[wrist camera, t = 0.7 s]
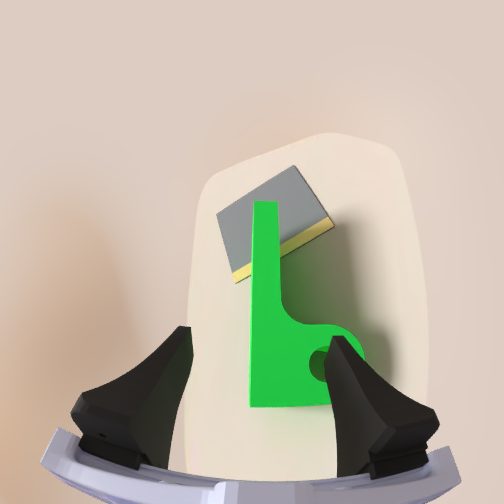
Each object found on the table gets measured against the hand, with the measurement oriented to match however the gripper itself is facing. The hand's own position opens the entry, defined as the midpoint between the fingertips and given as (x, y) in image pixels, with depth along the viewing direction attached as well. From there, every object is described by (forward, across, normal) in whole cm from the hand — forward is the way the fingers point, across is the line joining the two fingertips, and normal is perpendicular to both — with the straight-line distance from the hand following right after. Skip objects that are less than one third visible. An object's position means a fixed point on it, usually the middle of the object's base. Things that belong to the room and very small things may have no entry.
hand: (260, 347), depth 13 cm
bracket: (+14, -5, +7) cm, 16 cm away
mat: (+25, -1, +1) cm, 25 cm away
